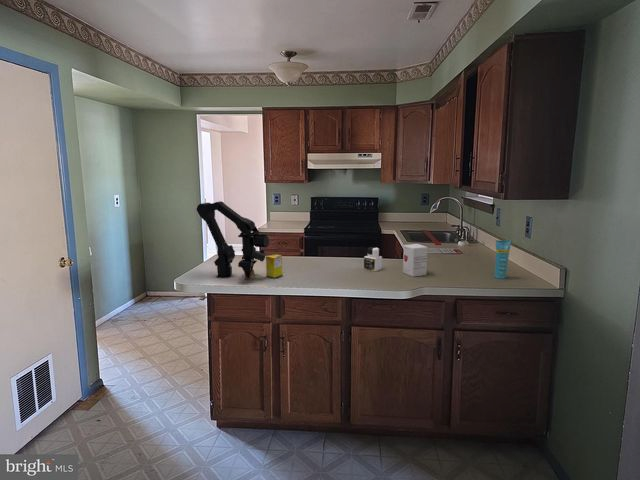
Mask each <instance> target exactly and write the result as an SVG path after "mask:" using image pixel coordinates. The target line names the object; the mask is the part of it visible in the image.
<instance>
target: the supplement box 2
mask: <svg viewBox="0 0 640 480" xmlns="http://www.w3.org/2000/svg"><path fill="white" fill-rule="evenodd" d="M428 249H429V247H428V246H425V245H423V244H419V243H413V244H404V245H403V256H402V257H403V259H402V260H403V261H402V273H403V274H406V275H408V276H410V277H412V278H413V277H419V276H426V275H427V264H428Z"/></svg>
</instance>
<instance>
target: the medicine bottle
mask: <svg viewBox="0 0 640 480" xmlns="http://www.w3.org/2000/svg"><path fill="white" fill-rule="evenodd" d="M379 254H380V248H378V247H376V246H370V247H367V255H365V256H363V270H366V271H371V272H377V271H380V270H382V269H383V256H381V255H379Z"/></svg>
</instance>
